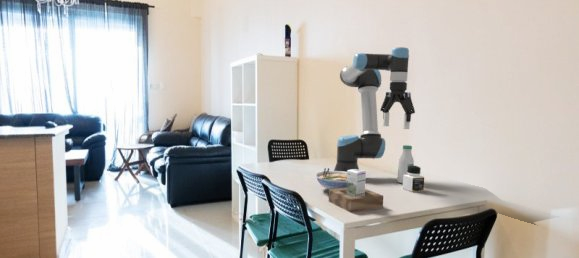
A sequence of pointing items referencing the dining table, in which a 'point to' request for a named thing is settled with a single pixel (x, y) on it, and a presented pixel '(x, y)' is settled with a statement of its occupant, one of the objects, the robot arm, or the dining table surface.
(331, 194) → the walnut holder
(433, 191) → the dining table surface
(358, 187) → the syrup box
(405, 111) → the robot arm
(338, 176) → the ramen bowl
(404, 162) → the milk bottle
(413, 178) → the medicine bottle
